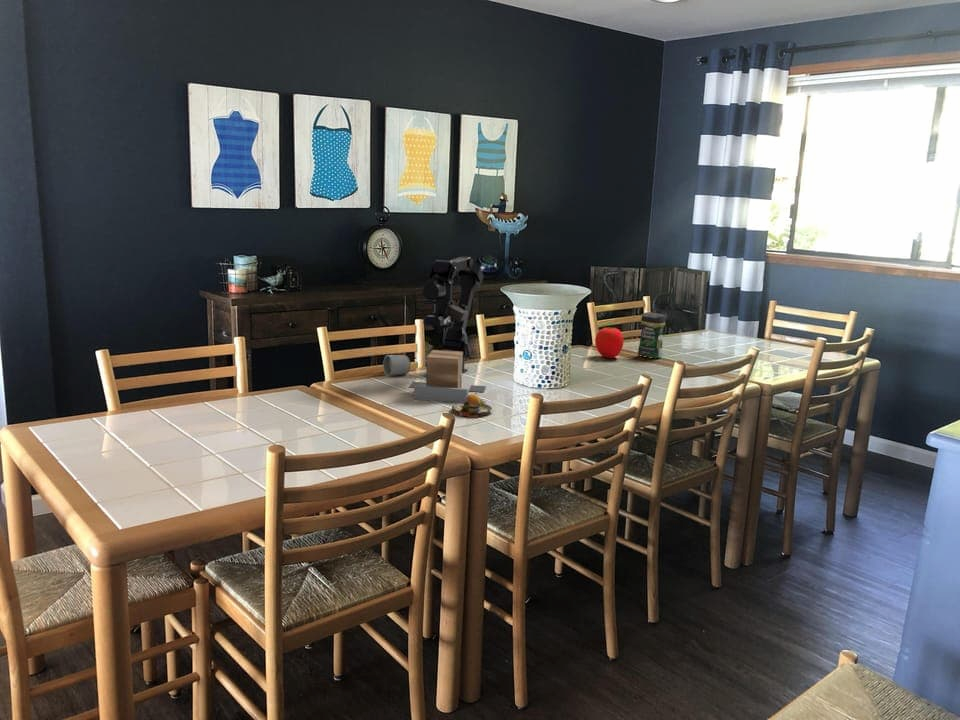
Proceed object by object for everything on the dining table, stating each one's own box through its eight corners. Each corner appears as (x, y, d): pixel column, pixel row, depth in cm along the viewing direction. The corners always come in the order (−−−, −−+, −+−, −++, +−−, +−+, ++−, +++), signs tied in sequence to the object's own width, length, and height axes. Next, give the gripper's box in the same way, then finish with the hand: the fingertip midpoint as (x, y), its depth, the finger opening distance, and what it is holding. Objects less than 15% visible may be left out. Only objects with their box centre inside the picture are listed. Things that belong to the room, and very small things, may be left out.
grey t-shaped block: (418, 392, 251) (418, 380, 250) (469, 395, 250) (469, 383, 249) (413, 398, 243) (414, 386, 242) (466, 402, 242) (466, 389, 241)
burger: (492, 408, 237) (493, 384, 235) (491, 419, 225) (493, 394, 224) (452, 406, 237) (453, 383, 235) (450, 417, 226) (451, 392, 224)
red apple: (626, 357, 320) (629, 327, 318) (616, 361, 311) (618, 330, 309) (601, 353, 326) (603, 323, 323) (590, 357, 317) (592, 326, 314)
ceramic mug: (411, 376, 273) (412, 355, 272) (391, 378, 269) (391, 357, 267) (398, 370, 281) (398, 350, 280) (378, 372, 277) (378, 352, 276)
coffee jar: (634, 356, 324) (638, 312, 320) (644, 353, 330) (648, 310, 326) (655, 360, 317) (659, 315, 314) (664, 357, 323) (669, 313, 319)
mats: (412, 382, 264) (412, 381, 264) (485, 386, 262) (485, 386, 262) (408, 387, 257) (408, 387, 256) (483, 392, 254) (483, 391, 254)
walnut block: (431, 388, 258) (432, 349, 255) (461, 390, 257) (462, 351, 254) (425, 397, 246) (426, 357, 243) (457, 399, 245) (458, 359, 242)
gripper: (454, 302, 253) (452, 349, 256) (475, 296, 270) (473, 340, 273) (423, 299, 257) (421, 346, 260) (445, 293, 274) (444, 337, 277)
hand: (441, 342), depth 267 cm, fingers closed
